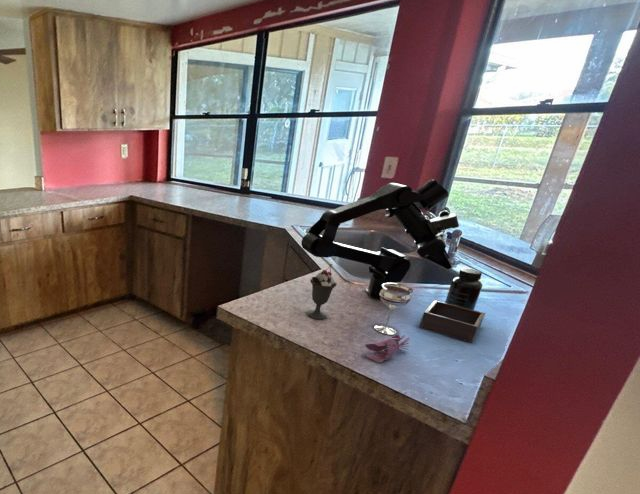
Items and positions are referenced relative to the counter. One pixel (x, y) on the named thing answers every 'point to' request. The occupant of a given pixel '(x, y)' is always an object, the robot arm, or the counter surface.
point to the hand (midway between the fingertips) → (448, 263)
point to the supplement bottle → (465, 289)
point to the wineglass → (393, 302)
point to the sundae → (321, 292)
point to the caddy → (452, 320)
